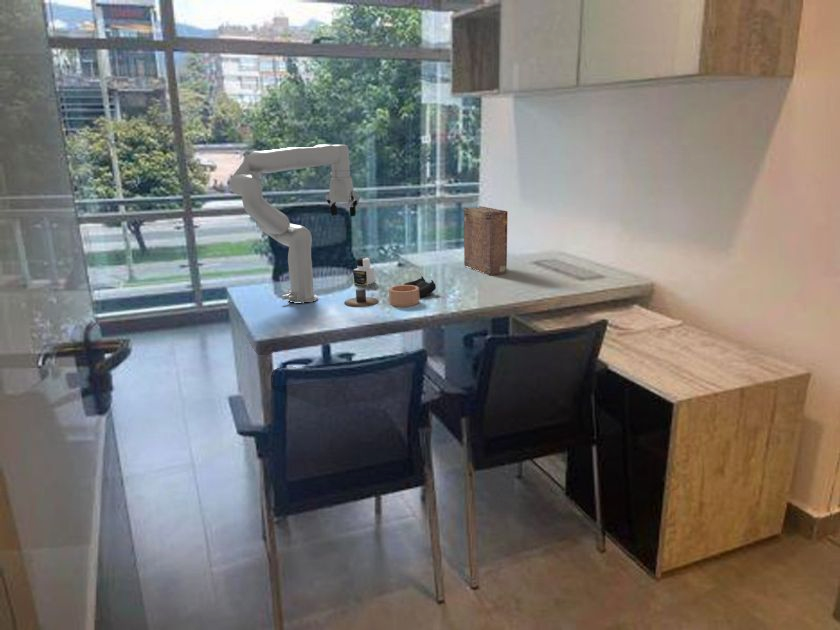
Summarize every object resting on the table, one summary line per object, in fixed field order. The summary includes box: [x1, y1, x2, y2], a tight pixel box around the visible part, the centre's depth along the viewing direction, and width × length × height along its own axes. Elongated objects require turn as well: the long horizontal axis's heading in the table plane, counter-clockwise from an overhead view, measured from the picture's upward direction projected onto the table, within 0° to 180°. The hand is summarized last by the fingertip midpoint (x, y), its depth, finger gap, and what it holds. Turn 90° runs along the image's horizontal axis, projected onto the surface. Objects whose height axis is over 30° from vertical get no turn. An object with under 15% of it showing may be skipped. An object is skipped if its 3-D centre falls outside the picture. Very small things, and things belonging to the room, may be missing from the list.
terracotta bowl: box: [388, 284, 421, 308], centre depth 255 cm, size 12×12×6 cm
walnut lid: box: [343, 287, 379, 308], centre depth 258 cm, size 14×14×6 cm
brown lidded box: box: [463, 205, 509, 276], centre depth 307 cm, size 25×9×30 cm, turn 26°
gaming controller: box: [403, 275, 437, 299], centre depth 270 cm, size 17×6×10 cm
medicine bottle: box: [352, 256, 376, 286], centre depth 289 cm, size 7×7×12 cm
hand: (343, 215), depth 268 cm, fingers open, 9 cm apart
